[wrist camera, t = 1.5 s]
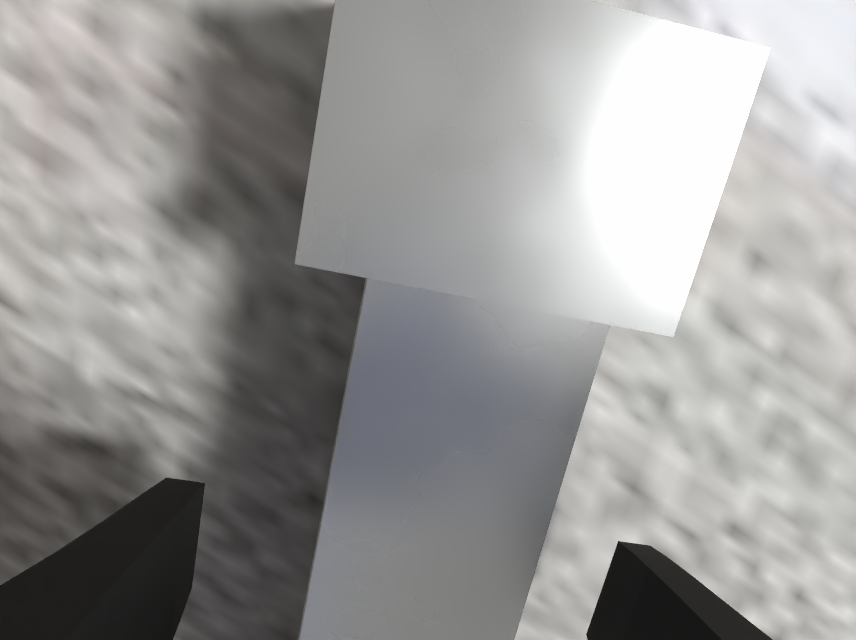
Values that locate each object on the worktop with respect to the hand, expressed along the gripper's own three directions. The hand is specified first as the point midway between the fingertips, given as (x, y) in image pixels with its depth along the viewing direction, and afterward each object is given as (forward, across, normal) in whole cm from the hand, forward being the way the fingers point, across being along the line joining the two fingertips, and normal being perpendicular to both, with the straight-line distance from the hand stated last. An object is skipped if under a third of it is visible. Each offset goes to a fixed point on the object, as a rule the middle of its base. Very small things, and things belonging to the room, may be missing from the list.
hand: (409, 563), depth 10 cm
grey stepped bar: (+2, 0, 0) cm, 2 cm away
